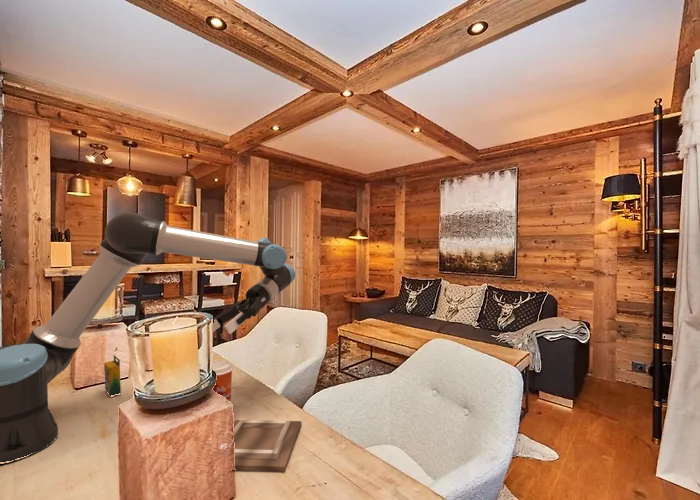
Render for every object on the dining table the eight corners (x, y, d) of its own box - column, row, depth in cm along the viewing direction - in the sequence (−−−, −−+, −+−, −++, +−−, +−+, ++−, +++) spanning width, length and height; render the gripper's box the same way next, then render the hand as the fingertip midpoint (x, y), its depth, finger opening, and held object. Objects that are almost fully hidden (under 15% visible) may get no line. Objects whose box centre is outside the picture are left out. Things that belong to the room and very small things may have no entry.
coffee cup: (223, 427, 88) (222, 371, 87) (195, 424, 89) (194, 369, 89) (239, 412, 96) (239, 360, 96) (214, 409, 98) (213, 358, 97)
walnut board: (202, 469, 71) (201, 458, 71) (235, 424, 89) (235, 415, 89) (284, 472, 70) (284, 460, 70) (301, 425, 88) (301, 416, 88)
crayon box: (104, 391, 110) (103, 356, 110) (115, 388, 112) (114, 354, 112) (110, 398, 105) (109, 362, 105) (121, 395, 108) (120, 359, 107)
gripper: (292, 296, 105) (246, 338, 88) (245, 308, 119) (198, 347, 102) (280, 275, 103) (232, 315, 86) (234, 291, 117) (184, 328, 101)
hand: (213, 333), depth 94 cm, fingers open, 13 cm apart
